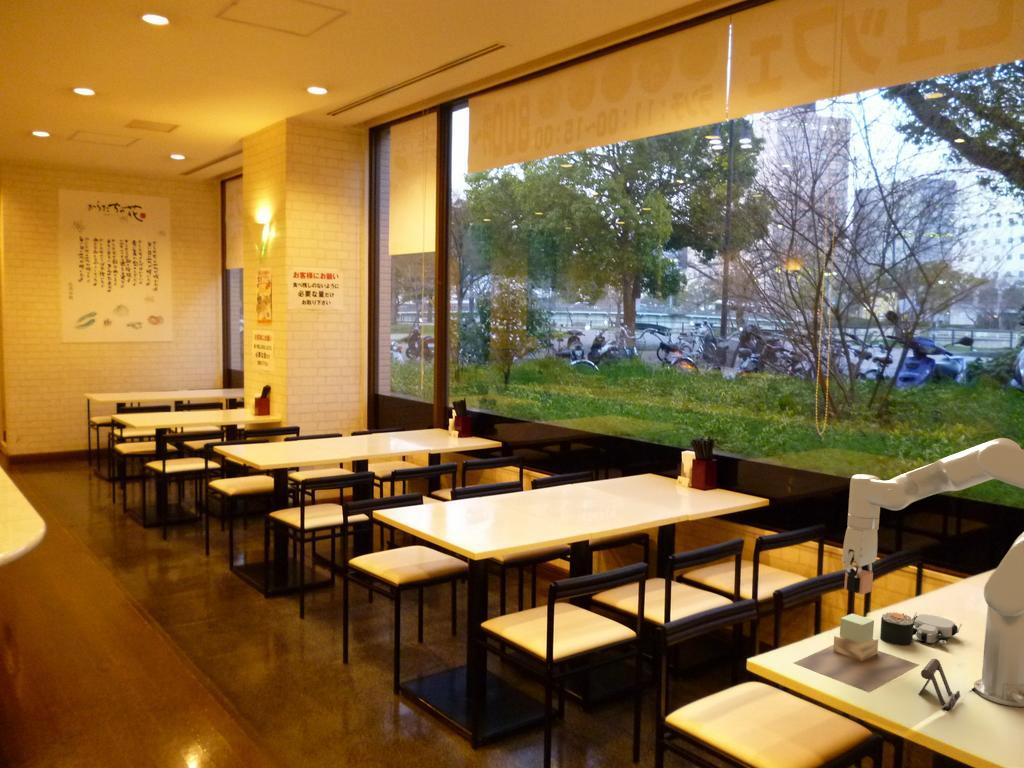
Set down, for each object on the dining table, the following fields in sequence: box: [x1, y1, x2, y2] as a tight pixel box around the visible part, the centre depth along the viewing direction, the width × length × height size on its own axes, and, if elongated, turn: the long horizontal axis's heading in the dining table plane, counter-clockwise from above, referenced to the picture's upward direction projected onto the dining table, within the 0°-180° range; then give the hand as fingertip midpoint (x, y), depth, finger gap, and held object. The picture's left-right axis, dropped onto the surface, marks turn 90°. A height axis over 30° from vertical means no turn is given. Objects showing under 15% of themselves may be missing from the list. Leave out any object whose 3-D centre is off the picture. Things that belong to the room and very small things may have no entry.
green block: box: [839, 613, 875, 644], centre depth 214 cm, size 6×6×5 cm
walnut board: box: [793, 644, 920, 693], centre depth 207 cm, size 20×26×1 cm
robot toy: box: [912, 612, 963, 645], centre depth 229 cm, size 12×4×15 cm
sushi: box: [879, 611, 914, 647], centre depth 223 cm, size 8×8×8 cm
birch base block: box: [833, 633, 879, 661], centre depth 214 cm, size 8×8×4 cm
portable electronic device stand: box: [918, 658, 961, 712], centre depth 190 cm, size 9×8×8 cm
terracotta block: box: [843, 567, 874, 595], centre depth 213 cm, size 5×5×5 cm
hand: (858, 588), depth 213 cm, fingers closed on terracotta block, 4 cm apart
